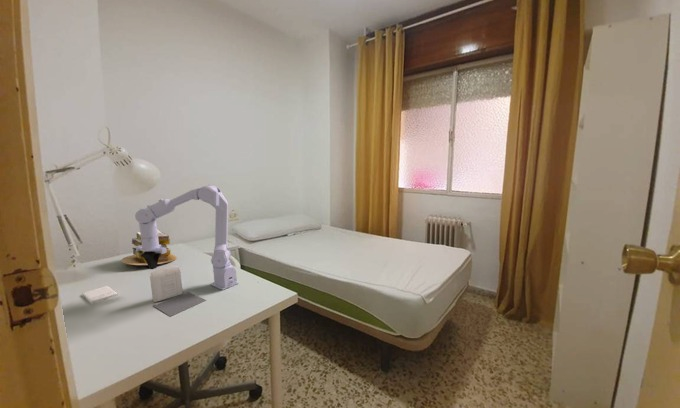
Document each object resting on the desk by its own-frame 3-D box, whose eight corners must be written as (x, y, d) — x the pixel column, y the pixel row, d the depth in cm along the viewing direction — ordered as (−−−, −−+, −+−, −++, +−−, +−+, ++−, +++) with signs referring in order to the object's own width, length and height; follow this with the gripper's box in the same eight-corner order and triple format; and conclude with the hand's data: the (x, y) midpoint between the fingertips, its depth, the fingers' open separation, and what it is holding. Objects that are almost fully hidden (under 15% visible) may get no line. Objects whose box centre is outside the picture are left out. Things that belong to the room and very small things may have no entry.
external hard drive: (108, 289, 114) (118, 296, 107) (82, 296, 107) (91, 305, 100) (107, 285, 114) (117, 292, 107) (81, 293, 107) (90, 301, 100)
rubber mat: (206, 300, 102) (206, 299, 102) (170, 316, 91) (170, 316, 91) (188, 292, 109) (188, 291, 109) (153, 306, 98) (153, 305, 98)
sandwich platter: (173, 251, 162) (170, 225, 160) (180, 262, 144) (177, 232, 141) (121, 261, 147) (117, 232, 144) (122, 274, 128) (118, 241, 126)
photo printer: (181, 291, 110) (178, 262, 109) (184, 294, 107) (180, 265, 105) (152, 300, 103) (147, 269, 102) (154, 303, 100) (149, 272, 98)
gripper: (172, 235, 109) (175, 266, 111) (146, 233, 113) (149, 263, 115) (155, 240, 102) (159, 273, 104) (129, 237, 107) (133, 269, 109)
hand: (153, 268), depth 109 cm, fingers closed
